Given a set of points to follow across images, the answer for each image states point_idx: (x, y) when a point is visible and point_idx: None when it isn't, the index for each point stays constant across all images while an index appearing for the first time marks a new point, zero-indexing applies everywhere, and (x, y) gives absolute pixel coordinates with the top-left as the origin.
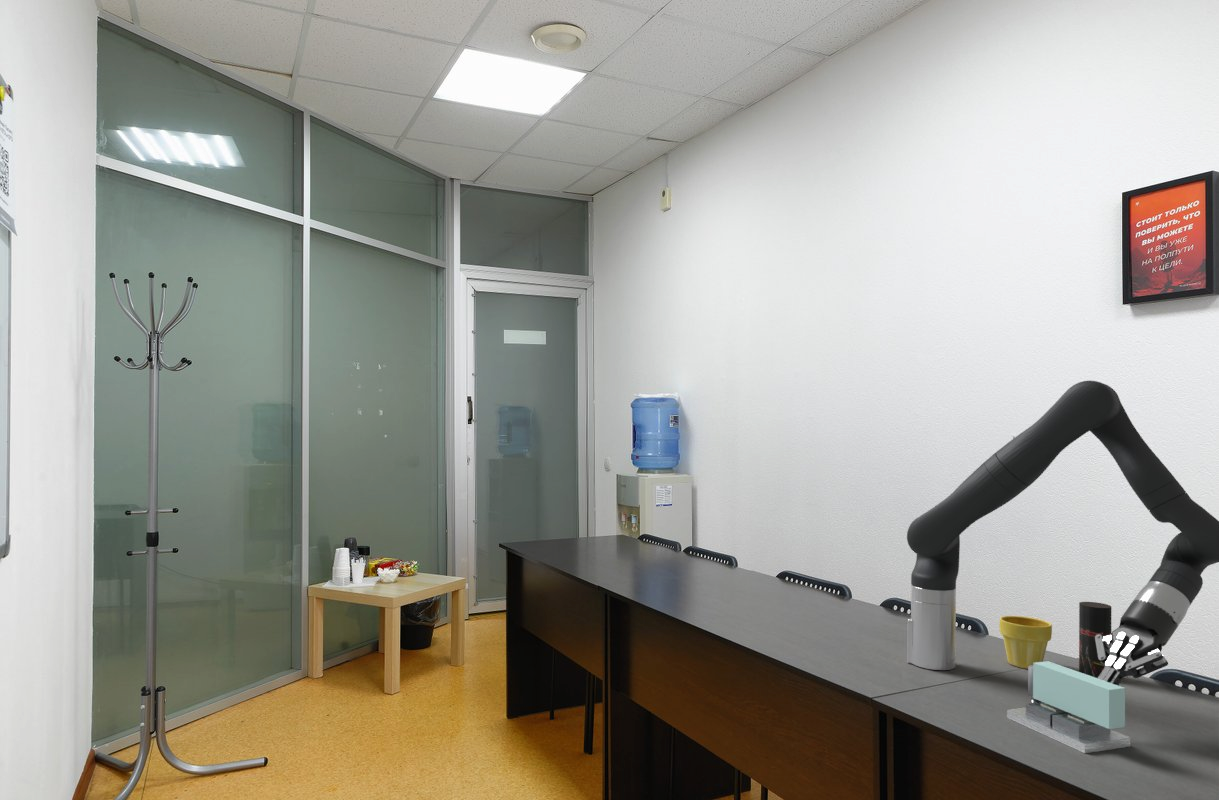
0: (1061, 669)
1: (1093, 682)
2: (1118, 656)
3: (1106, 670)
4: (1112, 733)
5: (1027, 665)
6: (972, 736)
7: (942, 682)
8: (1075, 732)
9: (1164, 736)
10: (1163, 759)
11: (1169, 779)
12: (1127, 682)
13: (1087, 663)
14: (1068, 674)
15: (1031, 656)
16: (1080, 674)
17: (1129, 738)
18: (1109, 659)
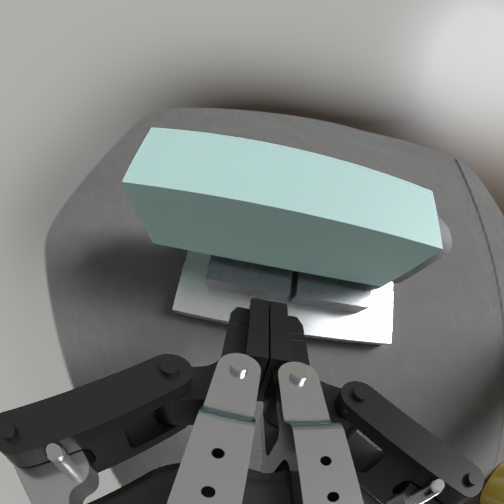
0: (365, 193)
1: (215, 146)
2: (280, 439)
3: (283, 342)
4: (207, 297)
5: (492, 477)
6: (330, 129)
7: (500, 289)
8: None
9: (174, 448)
10: (110, 302)
11: (82, 219)
12: None
13: None
14: (313, 158)
15: (500, 484)
16: (298, 190)
17: (173, 306)
18: (310, 393)
